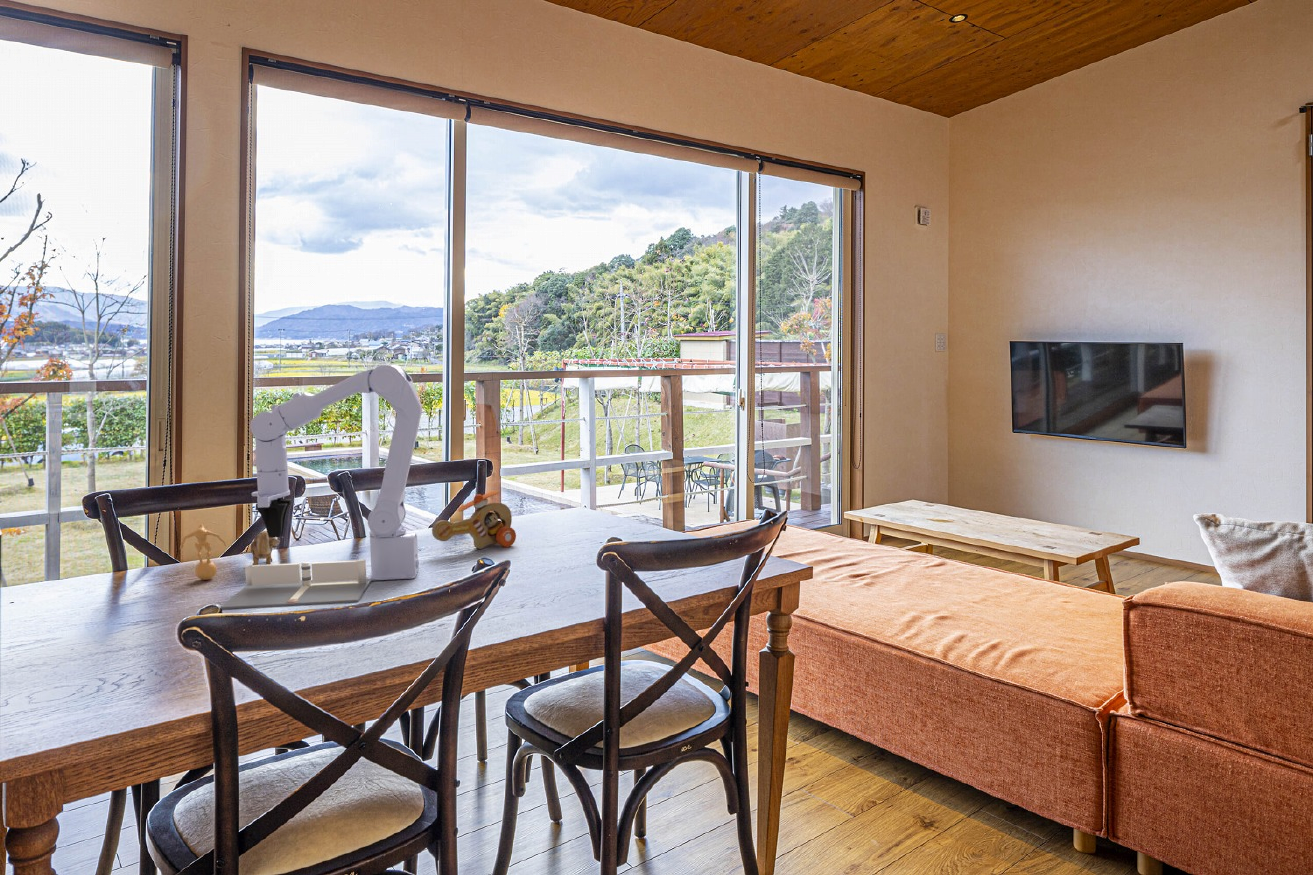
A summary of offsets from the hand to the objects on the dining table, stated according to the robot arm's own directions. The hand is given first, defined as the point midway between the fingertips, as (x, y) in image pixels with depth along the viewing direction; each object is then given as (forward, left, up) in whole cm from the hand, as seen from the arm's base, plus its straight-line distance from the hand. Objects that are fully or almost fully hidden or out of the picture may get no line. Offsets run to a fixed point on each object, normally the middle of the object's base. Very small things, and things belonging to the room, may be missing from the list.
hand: (276, 536), depth 167 cm
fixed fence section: (-12, +6, -9) cm, 16 cm away
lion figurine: (+6, -12, -10) cm, 17 cm away
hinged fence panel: (-1, +6, -8) cm, 10 cm away
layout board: (-7, +10, -9) cm, 15 cm away
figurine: (+15, -3, -10) cm, 18 cm away
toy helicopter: (-39, -21, -10) cm, 45 cm away
